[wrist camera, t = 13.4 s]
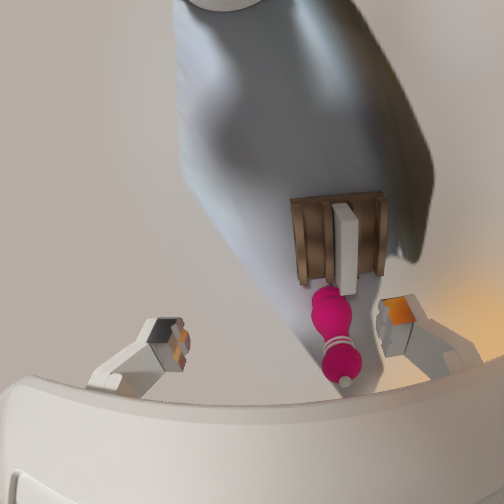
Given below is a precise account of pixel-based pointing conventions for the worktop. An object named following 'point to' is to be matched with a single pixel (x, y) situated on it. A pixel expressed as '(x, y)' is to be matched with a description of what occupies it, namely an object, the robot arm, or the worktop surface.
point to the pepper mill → (335, 336)
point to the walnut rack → (321, 233)
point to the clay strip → (345, 248)
